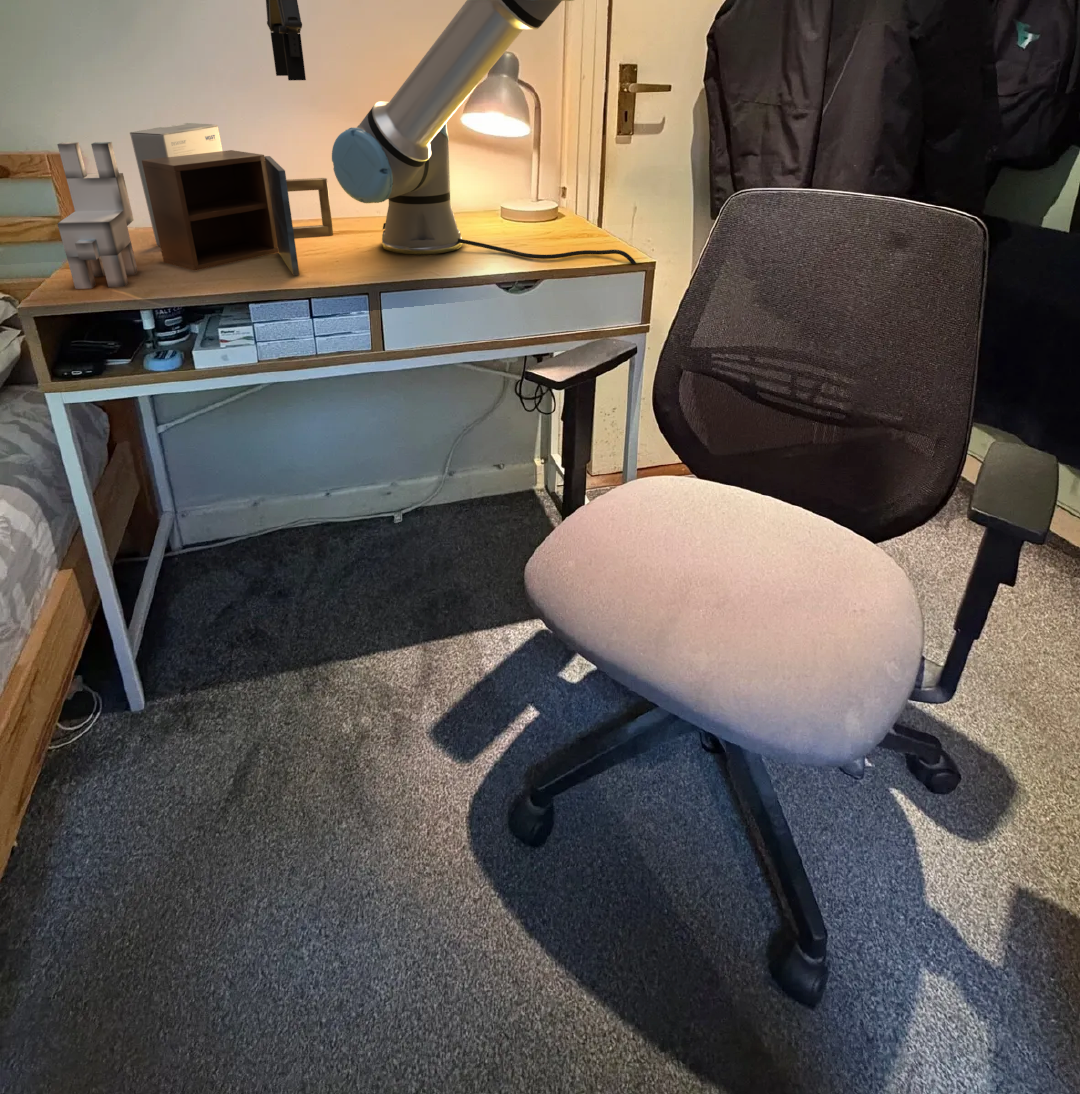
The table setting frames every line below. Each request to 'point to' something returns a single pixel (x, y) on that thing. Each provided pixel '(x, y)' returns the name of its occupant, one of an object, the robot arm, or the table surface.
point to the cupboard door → (283, 213)
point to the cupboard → (211, 208)
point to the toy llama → (97, 218)
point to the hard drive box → (172, 148)
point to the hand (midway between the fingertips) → (290, 78)
